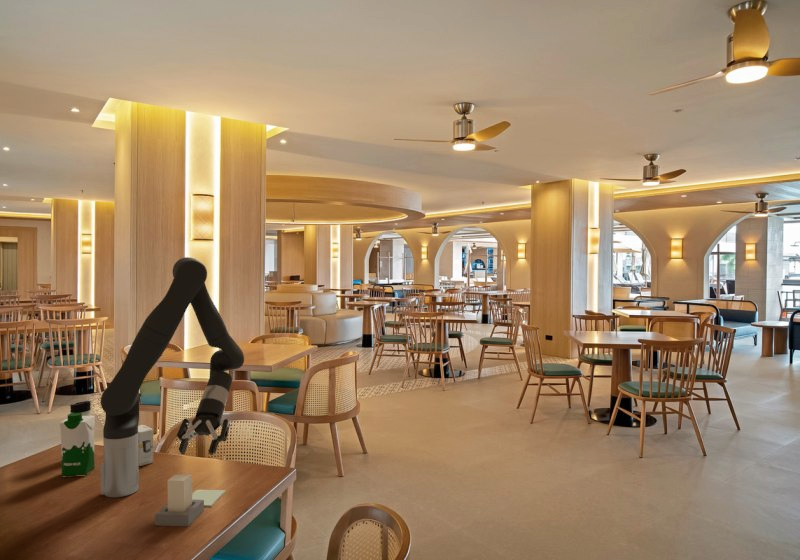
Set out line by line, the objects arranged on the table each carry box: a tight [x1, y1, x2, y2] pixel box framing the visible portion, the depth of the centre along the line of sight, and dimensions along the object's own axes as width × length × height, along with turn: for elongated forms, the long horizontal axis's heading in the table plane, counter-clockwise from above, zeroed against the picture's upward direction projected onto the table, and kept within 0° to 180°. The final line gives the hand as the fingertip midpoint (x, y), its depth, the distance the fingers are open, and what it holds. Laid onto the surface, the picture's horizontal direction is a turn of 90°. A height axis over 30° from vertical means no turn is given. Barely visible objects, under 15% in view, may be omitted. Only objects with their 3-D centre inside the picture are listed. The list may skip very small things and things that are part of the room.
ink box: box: [138, 424, 154, 467], centre depth 182 cm, size 9×5×12 cm, turn 50°
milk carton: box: [59, 413, 96, 477], centre depth 172 cm, size 9×9×20 cm
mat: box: [192, 489, 227, 508], centre depth 153 cm, size 9×10×1 cm
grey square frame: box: [154, 500, 205, 527], centre depth 141 cm, size 9×9×3 cm
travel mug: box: [69, 400, 92, 416], centre depth 187 cm, size 6×7×20 cm
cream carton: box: [167, 473, 193, 512], centre depth 141 cm, size 4×4×11 cm
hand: (196, 453), depth 150 cm, fingers open, 8 cm apart
